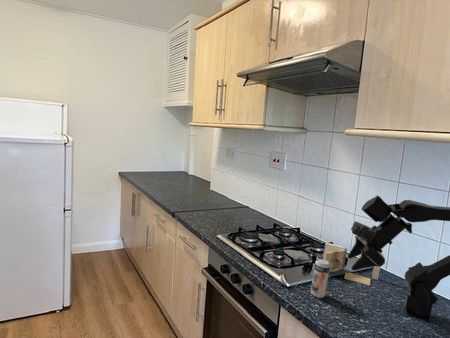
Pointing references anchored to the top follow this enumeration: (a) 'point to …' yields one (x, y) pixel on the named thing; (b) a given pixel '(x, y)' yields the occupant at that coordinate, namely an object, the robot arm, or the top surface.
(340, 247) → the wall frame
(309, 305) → the top surface
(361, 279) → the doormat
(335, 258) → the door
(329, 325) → the top surface
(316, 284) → the beer can
